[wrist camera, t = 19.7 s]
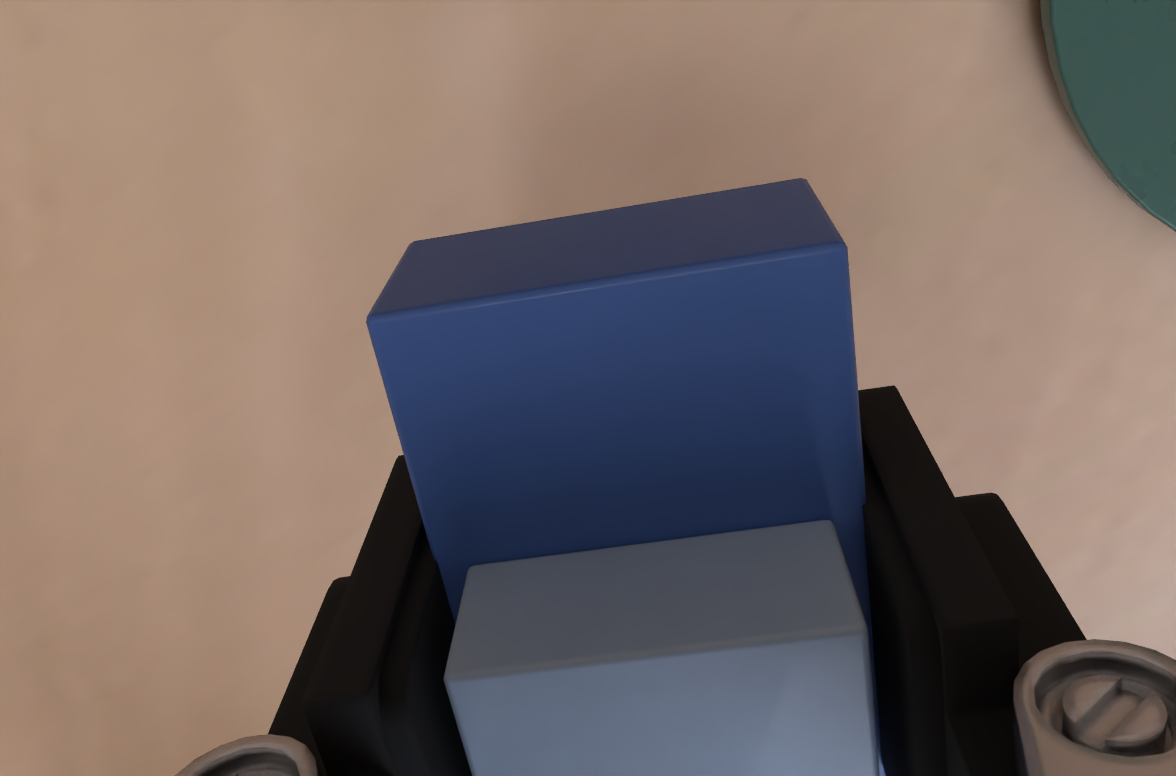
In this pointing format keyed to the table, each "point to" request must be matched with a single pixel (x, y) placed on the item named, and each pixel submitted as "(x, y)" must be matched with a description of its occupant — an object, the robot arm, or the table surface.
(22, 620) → the table surface
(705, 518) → the toy car
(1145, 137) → the lid
